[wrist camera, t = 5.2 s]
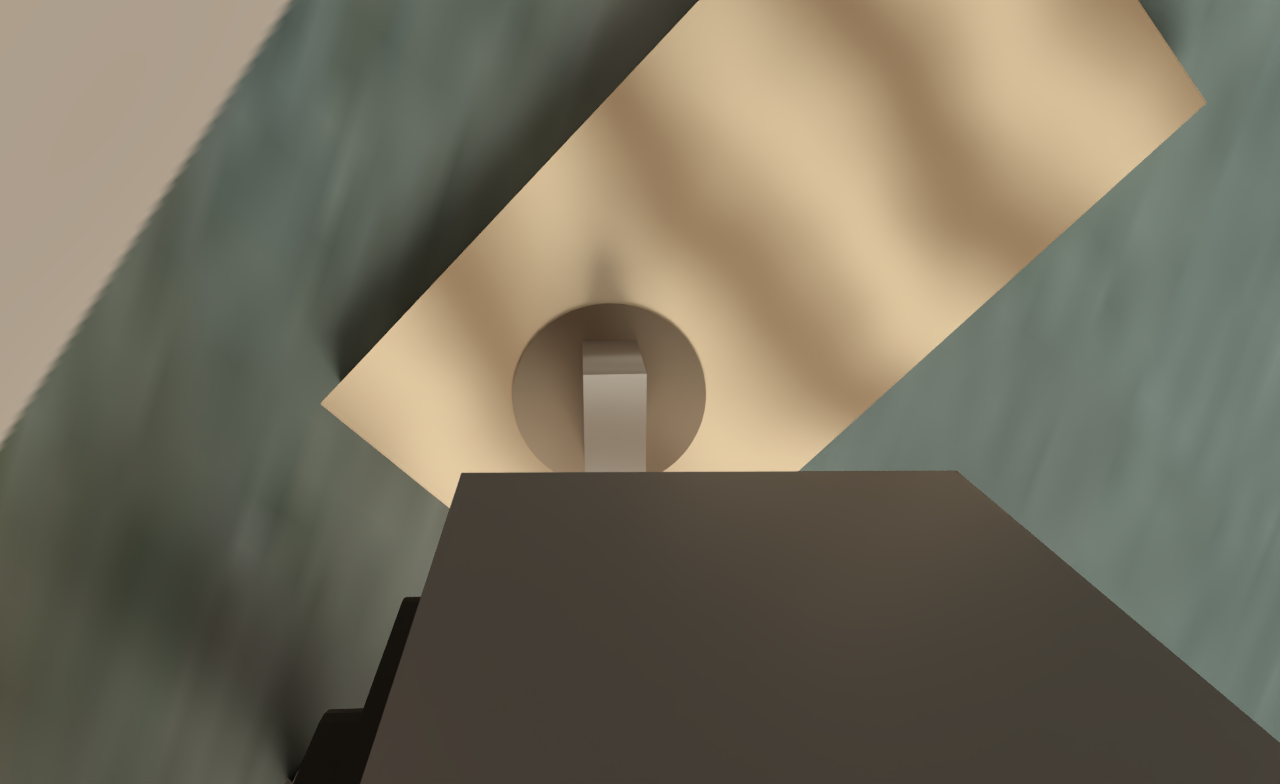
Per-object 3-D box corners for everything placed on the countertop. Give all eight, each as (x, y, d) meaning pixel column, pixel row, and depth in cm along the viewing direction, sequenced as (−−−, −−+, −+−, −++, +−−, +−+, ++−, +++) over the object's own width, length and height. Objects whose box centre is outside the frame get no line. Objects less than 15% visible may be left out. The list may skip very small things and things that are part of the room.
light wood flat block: (921, -237, 21) (1035, -361, 16) (1157, 105, 24) (1316, 96, 19) (340, 383, 25) (276, 449, 20) (609, 605, 28) (616, 711, 23)
